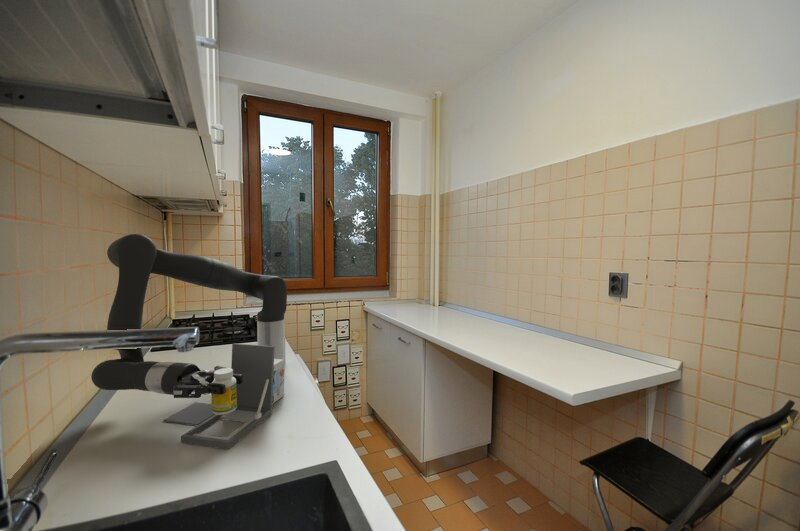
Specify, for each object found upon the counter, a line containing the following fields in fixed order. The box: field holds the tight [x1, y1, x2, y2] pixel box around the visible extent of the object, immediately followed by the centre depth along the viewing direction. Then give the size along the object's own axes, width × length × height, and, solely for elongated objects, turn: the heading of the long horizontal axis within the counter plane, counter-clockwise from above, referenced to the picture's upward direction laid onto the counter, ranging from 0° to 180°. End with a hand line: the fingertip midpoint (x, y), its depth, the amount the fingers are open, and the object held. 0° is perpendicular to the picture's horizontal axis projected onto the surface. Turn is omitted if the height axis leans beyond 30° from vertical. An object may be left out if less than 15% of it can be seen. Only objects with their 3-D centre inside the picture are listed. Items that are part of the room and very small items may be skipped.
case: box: [180, 342, 275, 450], centre depth 83 cm, size 18×12×18 cm
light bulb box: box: [272, 359, 285, 405], centre depth 96 cm, size 11×7×11 cm, turn 169°
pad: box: [163, 401, 215, 426], centre depth 89 cm, size 10×10×1 cm
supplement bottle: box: [210, 367, 237, 415], centre depth 81 cm, size 5×5×10 cm
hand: (233, 384), depth 81 cm, fingers closed on supplement bottle, 5 cm apart
